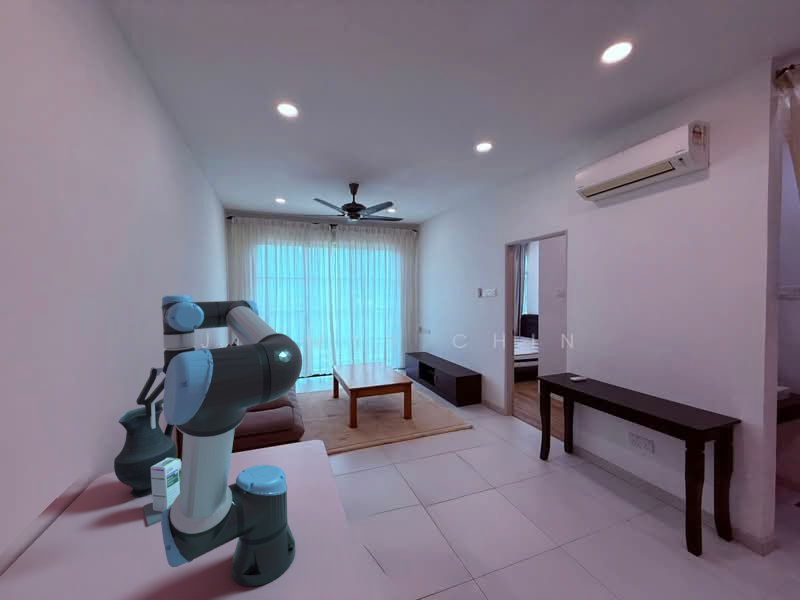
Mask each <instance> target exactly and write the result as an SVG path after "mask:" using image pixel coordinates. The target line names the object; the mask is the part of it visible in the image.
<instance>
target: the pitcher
mask: <svg viewBox="0 0 800 600" xmlns="http://www.w3.org/2000/svg"><path fill="white" fill-rule="evenodd" d="M154 404H155V423H156V428H154V429H152V427H151V416H150V417H147V416H146V414H145V406H144V407H139V408H135V409H130V410H128V411H125V413H124V414H123V415H122V416H120V418H119V419H118V423H119V424H120V425H121V426H123V428H124V430H125V431H126V433H125V442H124V445H123V446H122V449H121V451H120V452H119V454H117V455H116V456H115V458H114V463H113V466H114V467H113V468H114V470H113V471H114V474H115V477H116V478H117V479H118V480H119V482H120V483H122V484H123V485H125V486H128V487H129V488H131V489H132V490H131V491H130V495H131V496H132V497H134V498H139V497H140V496H141V497H145V496H149V495H152V494H151V493H152V483H151V467H152V466H154V465H156V464H157V463H159V462H161V461H163V460H165V459H166V458H177V445H176V443H175V442H174V441H173V440H172V434H173V431H174V426H175V424H174V425H170V424H168V423H167V422H166V423H167V424H166V426H165V429H164V432H163V430H162V428H161V426H160V416H161V414H162V412H164V407H162V405H163V398H161V399H160V400H158V401H156V402H155V403H154ZM148 494H149V495H148Z"/></svg>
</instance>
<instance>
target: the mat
mask: <svg viewBox="0 0 800 600" xmlns="http://www.w3.org/2000/svg"><path fill="white" fill-rule="evenodd" d="M142 508H143V512H144V516H145V521H146V524H147V526H148V527H149V526H152V525H154V524H157V523H161V514H162V512H160V511H155V510H153V501H152V502H149V503H147V504H145V505H143V507H142Z"/></svg>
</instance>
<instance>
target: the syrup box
mask: <svg viewBox="0 0 800 600" xmlns="http://www.w3.org/2000/svg"><path fill="white" fill-rule="evenodd" d="M181 466H182V459H181V458H177V457H176V458H166V459H165V460H163V461H161V462H159V463H157V464H156V465H154V466H152V467H151V483H152V494H151V497H152V500H151V501H152V502H153V510H155V511H160V512H163V511H164V510H166V509H168V508H169V507H171V506H172V504H173V502H174V500H175V499H176V497H177V496H178V495H179V494H180V484H181Z"/></svg>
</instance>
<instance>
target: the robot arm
mask: <svg viewBox="0 0 800 600" xmlns="http://www.w3.org/2000/svg"><path fill="white" fill-rule="evenodd" d="M161 301H162V303H161V313H162V327H163V330H162V331H163V332H162V333H163V348H164V351H163V362H164V363H163V367H151V368H150V371H149V377H148V378H147V380H146V382H145V384H144V386H143V387H142V389H141V391H140V393H139V394H138V397H137V398H136V401H135V402H136V404H137V406H144V407H145V414H146V416H147V417H150V416H151V427H152V429H154V428H156V423H155V403H154V401H155V400H156V399H157V398H158V396H160V394H162V392H163V391H164V392H163V398H162V399H163V403H162V405H163V414H164V415H163V416H164V419H165V422H166V423H168V424H170V425H174V426H175V427H176V428H177V430H178V431H179V432H181V434H182V448H181V449H182V451H181V484H180V494H179V495H178V496H177V497H176V499H175V500H174V502H173V504H172V506H171V507H169V508H168V509H166V510H164V511H163V512H162V514H161V521H160V524H161V525H160V526H161V531H162V532H161V533H162V534H161V535H162V540H163V544H164V551H165V556H166V560H167V563H168V565H169V567H172V568H177V567H180V566H182V565H185V564H189V563H191V562H193V561H194V560H195V559H198V558H200V557H201V556H204V555H207V554H208V553H209V552H212V551H214V550H216V549H218V548H219V547H222V546H224V545H226V544H228V543H230V542H232V541H234V540H237V539H238V540H237V543H236V545H235V546H236V547H235V549H234V553H233V556H232V561H231V576H232V578H233V581H235V583H237V584H238V585H240V586H242V587H248V586H253V587H259V586H263V585H266V584H268V583H270V582H272V581H274V580H276V579H277V578H279V577H280V576H282V575H283V574H284V573H285V572H286V571H287V570H288V569H289V568H290V567H291V565H292V563H293V561H294V559H295V556H296V542H295V541H296V540H295V537H294V535H293V532H292V530H291V528H290V526H289V523H288V492H287V491H288V484H287V477H286V473H285V471H284V470H283V469H282V468H281V467H279V466H277V465H276V466H275V465H270V464H261V465H259V464H258V465H253V466H250V467H248V468H245V469H243V470H242V471H240V472H239V473H238V475H237V476H236V479H235V482H234V483H231V484H229V485H228V480H229V472H230V466H231V458H232V452H233V451H232V450H233V444H234V443H233V442H234V438H235V437H234V436H235V430H236V428H237V427H238V426H239V425H240V424H241V423H243V421H244V418H245V416H246V413H247V408H251V407H255V406H258V405H261V404H262V405H263V404H266V403H270V402H273V401H276V400H277V399H278V400H279V398H281V397H283V396H284V395H286V394H287V393H288V392H289V391H291V389H292V388H293V387H294V385H296V383H297V381H298V380H299V378H300V375H301V372H302V369H303V356H302V355H303V354H302V351H301V349H300V347H299V346H298V344H297V343H296V342H295V341H294V340H293V339H292V338H291V337H290V336H288V335H287V334H284V333H280V332H277V331H276V330H275V329H274V328H272V326H270V325H269V324H268V323H267V322H266V321H265V320H264V319H262V318H261V317H260V315H259V307H258V305H257V303H256V302H255V301H254V300H247V299H246V300H245V299H241V300H240V299H239V300H221V301H220V300H219V301H194V297H193V296H192V295H190V294H189V295H188V294H187V295H185V294H183V295H181V294H180V295H178V294H177V295H164V296H163V297H162V299H161ZM217 328H228V329H230V331H231V332H232V333H233V334H234V335H235V337H236V339H237V340H238V341H239V342H240V344H241V345H240V344H239V345H233V346H225V347H224V346H223V347H216V348H209V349H208V348H199V349H196V348H195V347H194V346H195V345H196V338H195V336H196V335H195V330H203V329H204V330H205V329H206V330H207V329H217ZM161 373H163V374H164V375H165V376H164V377H163V379H162V380H161V382H160V383H159V384H158V385H157V386H156V388H154V390H153V391H152V392H151V393H150V394H149V392H150V391H151V388H152V387H153V385H154V383H155V381H156V379H157V377H158V376H160V375H161ZM148 394H149V396H148ZM258 585H259V586H258Z"/></svg>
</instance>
